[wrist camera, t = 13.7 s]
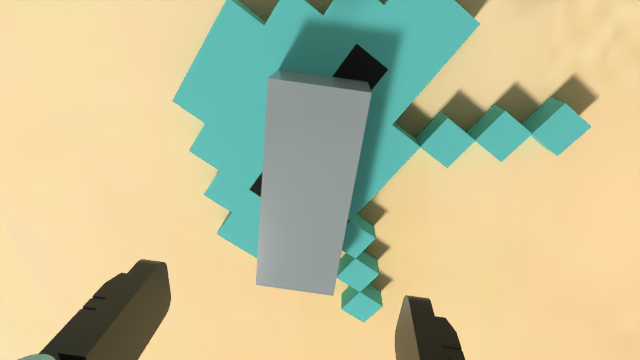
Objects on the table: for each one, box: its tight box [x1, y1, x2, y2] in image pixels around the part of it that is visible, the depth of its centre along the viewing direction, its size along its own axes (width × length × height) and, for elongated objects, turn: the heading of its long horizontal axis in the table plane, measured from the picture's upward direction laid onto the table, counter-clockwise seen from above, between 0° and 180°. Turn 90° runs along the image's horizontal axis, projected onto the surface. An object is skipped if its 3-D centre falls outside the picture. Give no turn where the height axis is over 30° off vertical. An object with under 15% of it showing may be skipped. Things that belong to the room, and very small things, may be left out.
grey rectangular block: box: [256, 69, 372, 296], centre depth 21 cm, size 5×3×13 cm
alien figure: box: [173, 0, 591, 322], centre depth 22 cm, size 20×2×20 cm
